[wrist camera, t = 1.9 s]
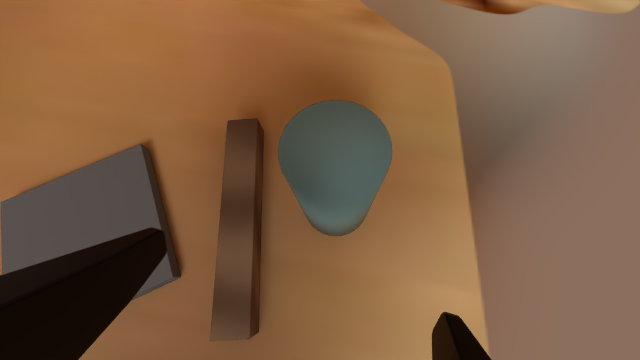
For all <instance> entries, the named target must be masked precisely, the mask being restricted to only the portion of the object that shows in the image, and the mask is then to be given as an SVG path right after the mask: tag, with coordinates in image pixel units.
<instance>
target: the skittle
mask: <svg viewBox="0 0 640 360" xmlns="http://www.w3.org/2000/svg"><path fill="white" fill-rule="evenodd" d="M278 157H279V163H280V166H281V169H282V172H283V174H284V175H285V177H286V179H287V181H288V183H289V185H290V187H291V188H292V190H293V192H294V194H295V196H296V198H297V200H298V201H299V203H300V205H301V207H302V209H303V211H304V213H305V215H306V216H307V218H308V220H309V222H310V223H311V225H312V226H313V227H314V228H316V229H317V230H318V231H320V232H322V233H324V234H327V235H331V236H341V235H345V234H348V233H350V232H352V231H354V230H355V229H356V228H358V227H359V226H360V224H361V223H362V222H363V220H364V218H365V216H366V214H367V212H368V210H369V208H370V206H371V204H372V202H373V200H374V198H375V196H376V194H377V192H378V190H379V188H380V185H381V183H382V181H383V179H384V177H385V175H386V173H387V171H388V169H389V166H390V163H391V158H392V143H391V139H390V136H389V133H388V131H387V129H386V127H385V125H384V124H383V123H382V121H381V120H380V119H379V118H378V117H377V116H376V115H375V114H374V113H373V112H371V111H370V110H368V109H367V108H365V107H363V106H361V105H359V104H356V103H353V102H348V101H341V100H330V101H323V102H319V103H316V104H313V105H311V106H309V107H307V108H305V109H303V110H302V111H300V112H299V113H297V114H296V115H295V116H294V117H293V118H292V119H291V120H290V121H289V123H288V124H287V125H286V127H285V129H284V131H283V132H282V135H281V138H280V142H279V148H278Z"/></svg>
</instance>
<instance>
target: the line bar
mask: <svg viewBox="0 0 640 360" xmlns="http://www.w3.org/2000/svg"><path fill="white" fill-rule="evenodd" d="M263 136H264V131H263V129H262V127H261V125H260V123H259V121H258V119H257V118H256V119H243V120H231V121H228V123H227V136H226V148H225V161H224V173H223V186H222V198H221V210H220V223H219V235H218V248H217V260H216V273H215V285H214V297H213V310H212V322H211V335H210V341H217V340H240V339H250V338H251V337H253V336H254V335H255V334H257V333H258V329H259V291H260V252H261V213H262V175H263Z"/></svg>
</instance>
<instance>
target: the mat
mask: <svg viewBox="0 0 640 360" xmlns="http://www.w3.org/2000/svg"><path fill="white" fill-rule="evenodd" d="M150 227H154V228H157V229H161V230H163V231H164V232H165V237H166V243H167V253H166V255H165V257H164V258H163V259H162V261H161V262H160V263H159V265H158V266H157V267H156V269H155V270H154V271H153V273H152V274H151V275H150V277H149V278H148V279H147V281H146V282H145V283H144V285H143V286H142V287H141V289H140V290H139V291H138V293H137V294H136V295H135V296H134V298H133V299H135V298H137V297H140V296H142V295H144V294H146V293H148V292H150V291H152V290H154V289H157V288H159V287H161V286H163V285H165V284H167V283H169V282H171V281H174V280H176V279H178V278H180V277H181V276H180V272H179V268H178V265H177V261H176V257H175V253H174V249H173V245H172V241H171V237H170V233H169V229H168V225H167V221H166V217H165V213H164V209H163V205H162V201H161V197H160V193H159V189H158V185H157V181H156V177H155V173H154V169H153V165H152V161H151V158H150V154H149V150H148V148H146V147H144V146H143V145H141V144H139V145H137V146H134V147H132V148H130V149H127V150H125V151H122V152H120V153H118V154H115V155H113V156H110V157H108V158H106V159H103V160H101V161H98V162H96V163H94V164H91V165H89V166H86V167H84V168H82V169H79V170H77V171H74V172H72V173H70V174H67V175H65V176H62V177H60V178H58V179H55V180H53V181H50V182H48V183H46V184H43V185H41V186H38V187H36V188H34V189H31V190H29V191H26V192H24V193H22V194H19V195H17V196H14V197H12V198H10V199H7V200H5V201H2V202H1V238H2V275H4V274H7V273H10V272H13V271H16V270H19V269H22V268H25V267H28V266H32V265H35V264H38V263H41V262H44V261H47V260H50V259H53V258H56V257H60V256H63V255H66V254H69V253H72V252H75V251H78V250H81V249H84V248H88V247H91V246H94V245H97V244H100V243H103V242H106V241H109V240H112V239H116V238H119V237H122V236H125V235H128V234H131V233H134V232H137V231H140V230H144V229H147V228H150ZM133 299H132V300H133Z"/></svg>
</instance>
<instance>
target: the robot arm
mask: <svg viewBox="0 0 640 360" xmlns="http://www.w3.org/2000/svg"><path fill="white" fill-rule="evenodd" d="M166 253H167V243H166V237H165V232H164V231H163V230H161V229H157V228H154V227H150V228H147V229H144V230H140V231H137V232H134V233H131V234H128V235H125V236H122V237H119V238H116V239H112V240H109V241H106V242H103V243H100V244H97V245H94V246H91V247H88V248H84V249H81V250H78V251H75V252H72V253H69V254H66V255H63V256H60V257H56V258H53V259H50V260H47V261H44V262H41V263H38V264H35V265H32V266H28V267H25V268H22V269H19V270H16V271H13V272H10V273H7V274H4V275H0V360H78V359H79V358H80V357H81V356H82V355H83V354H84V353H85V351H86V350H87V349H88V348H89V347H90V346H91V345H92V344H93V343H94V341H95V340H96V339H97V338H98V337H99V336H100V335H101V334H102V332H103V331H104V330H105V329H106V328H107V327H108V326H109V325H110V324H111V322H112V321H113V320H114V319H115V318H116V317H117V316H118V315H119V313H120V312H121V311H122V310H123V309H124V308H125V307H126V306H127V305H128V303H129V302H130V301H131V300H132V299H133V298H134V296H135V295H136V294H137V293H138V291H139V290H140V289H141V287H142V286H143V285H144V283H145V282H146V281H147V279H148V278H149V277H150V275H151V274H152V273H153V271H154V270H155V269H156V267H157V266H158V265H159V263H160V262H161V261H162V259H163V258H164V257H165V255H166ZM432 360H491V358H490V357H489V356H488V354H487V353H486V352H485V350H484V349H483V347H482V346H481V345H480V343H479V342H478V341H477V339H476V338H475V337H474V335H473V334H472V333H471V331H470V330H469V328H468V327H467V326H466V324H465V323H464V322H463V320H462V319H461V318H460V317H459V316H457V315H454V314H451V313H448V312H443V313H442V314H441V316H440V317H439V319H438V321H437V323H436V325H435V327H434V329H433V332H432Z"/></svg>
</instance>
